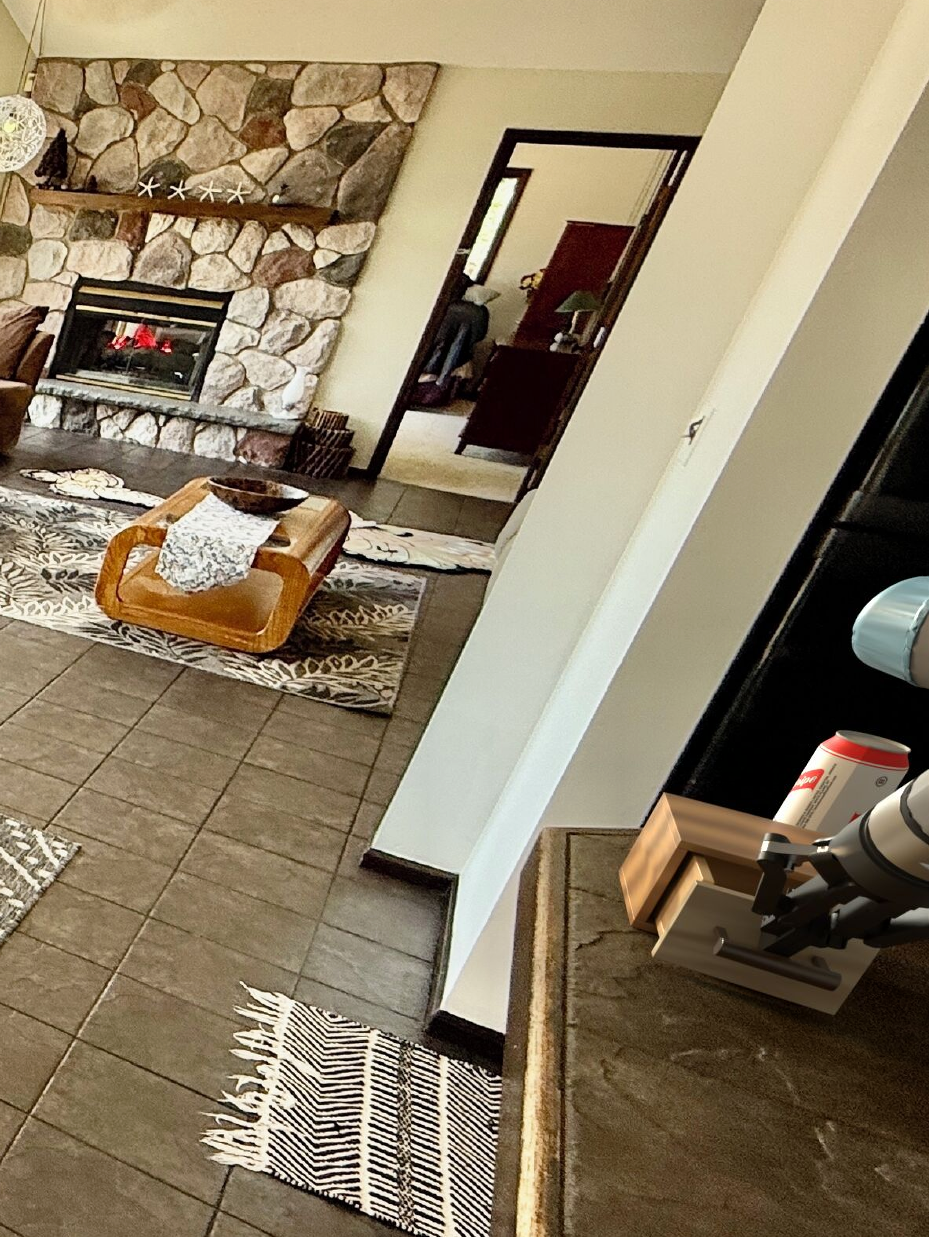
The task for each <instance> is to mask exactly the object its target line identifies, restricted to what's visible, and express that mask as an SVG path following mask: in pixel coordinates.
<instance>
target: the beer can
mask: <svg viewBox="0 0 929 1237" xmlns="http://www.w3.org/2000/svg"><path fill="white" fill-rule="evenodd" d="M911 752H912V750H911V748H910V747H908V746H906V745H905V744H902V743H900V742H897V741H894V740H891V739H888V738H884V737H881V736H878V735H877V736H876V735H873V734H869V733H863V732H859V731H853V730H837V731H836V732H835V735H834V736H832V737H831V738H829V739H827V740H825V741H823V742H822V743H820V744H819V745H818V747H817V748H816V750H815V751H814V753H813V755H812V756H811V757H810V760H809V761H808V763H807V765H806V766H805V767H804V769H803V771H802V772H801V774H800V775H799V777H798V779H797V781H796V782H795V784H794V786H793V787H792V789H791V790H790V792H789V793H788V795H787V797H786V798H785V800H784V801H783V803H782V805H781V806H780V808H779V809H778V811H777V813H776V814H775V815H774V817H773V819H772V820H773V821H777V822H781V823H785V824H789V825H793V826H797V827H801V828H804V829H808V830H812V831H816V832H820V833H824V834H828V835H831V836H836V835H837V834H838V833H839V832H840V831H841V830H843V829H844V828H845V827H846V826H847V825H848V824H850V823H851V822H852V821H854V820H855V819H857V818H858V817H859V816H861V815H862V814H864V813H865V812H867V811H868V810H870V809H871V808H872V807H874V806H876V805H877V804H878V803H880V802H881V801H883V800H884V799H885V798H887V797H888V796H890V795H891V794H893V793H894V792H896V790H897V789H898V787H899V784H900V783H901V782H902V781H903V779H904V777H905V775H906V774H907V773H908V771H909V768H910V762H909V758H908V756H909V753H911Z"/></svg>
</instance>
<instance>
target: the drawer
mask: <svg viewBox="0 0 929 1237" xmlns="http://www.w3.org/2000/svg"><path fill="white" fill-rule="evenodd" d="M762 874H763V871H761V870H757V869H754V868H750V867H747V866H743V865H739V864H736V863H732V862H729V861H725V860H721V859H718V858H714V857H711V856H707V855H703V854H700V853H696V852H692V851H689V850H688V852H687V853H686V855H685V857H684V858H683V860H682V862H681V863H680V865H679V867H678V868H677V870H676V872H675V873H674V875H673V877H672V879H671V880H670V882H669V884H668V885H667V887H666V889H665V890H664V892H663V894H662V895H661V897H660V899H659V900H658V902H657V904H656V906H655V907H654V909H653V915H654V919H655V922H656V926H657V930H658V933H659V935H658V937H659V938H658V940H657V942H656V943H655V945H654V947H653V948H652V950H651V956H652V958H653V959H656V960H660V961H663V962H666V963H669V964H672V965H676V966H677V967H678V966H679V967H682V968H684V969H688V970H690V971H694V972H697V973H701V974H702V975H707V976H710V977H713V978H716V979H719V980H722V981H725V982H729V983H732V984H735V985H738V986H741V987H744V988H747V989H751V990H754V991H757V992H759V993H763V994H765V995H768V996H772V997H775V998H779V999H782V1000H785V1001H788V1002H792V1003H794V1004H797V1005H801V1006H804V1007H807V1008H810V1009H813V1010H816V1011H819V1012H822V1013H825V1014H829V1015H832V1016H835V1015H836V1014H837V1012H838V1011H839V1009H840V1008H841V1006H842V1005H843V1004H844V1003H845V1001H846V999H847V998H848V997H849V995H850V994H851V992H852V991H853V989H854V988H855V987H856V985H857V984H858V983H859V981H860V979H861V978H862V976H863V975H864V974H865V972H866V971H867V969H868V968H869V967H870V965H871V963H872V962H873V961H874V959H875V958H876V956H877V955H878V953H879V952H880V951H881V950H882V949H881V948H872V947H870V946H867V945H865V944H864V943H863V940H861V939H856V938H852V939H850V940H848V943H847V946H846V949H844V950H838V949H833V948H829V947H827V948H817V947H814V946H809V947H807V948H805V949H803V950H802V951H800V952H798V953H796V954H795V955H793V956H791V957H789V958H787V957H784V956H780V955H777V954H774V953H770V952H767V951H764V950H761V949H757V946H758V942H759V939H760V936H761V932H762V931H760V927H761V924H762V920H763V917H764V916H763V915H758V914H755V913H753V912H752V911H751V908H752V905H753V902H754V899H755V895H756V892H757V889H758V885H759V883H760V880H761V877H762ZM803 884H805V883H804V882H801V881H797V880H793V879H790V878H787V881H786V883H785V886H784V888H783V891H782V894H784V895H786V894H787V890H788V888H789V887H790V889H797V888H798V887H800V886H801V885H803ZM838 905H840V904H838ZM838 905H836V906H834V907H833V908H831V909H829V910H830V913H829V915H831V914H832V911H833V909H834V908H835V907H837V906H838Z"/></svg>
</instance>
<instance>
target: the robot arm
mask: <svg viewBox="0 0 929 1237" xmlns="http://www.w3.org/2000/svg"><path fill="white" fill-rule="evenodd" d="M851 646H852V650H853V652H854V653H855V656H856V657H857V658H858V659H859V660H860V661H862V663H864V664H865V665H867V666H869V667H871V668H873V669H875V670H878V671H881V672H883V673H885V674H887V675H891V676H893V677H896V678H899V679H901V680H903V681H906V682H907V683H909V684H911V685H913V686H915V687H918V688H923V689H928V690H929V575H927V576H923V575H922V576H916V577H912V578H908V579H904V580H901V581H899V582H897V583H895V584H893V585H891V586H889V587H887V588H886V589H884V590H883V591H881V592H879V593H878V594H877V595H876V596H874V597H873V598H872V599H871V600H870V601H869V602H868V603H867V604H866V605H865V606H864V607H863V609H862V610H861V611H860V613H859V614H858V615H857V618H856V619H855V622H854V624H853V626H852V637H851ZM804 862H810V863H811V865H812V866H813V867H814V868H815V870H816V871H817V872H818V874H819V875H817V876H815V877H814V878H812V879H811V880H809V881H808V882H806V883H805V884H803V885H801V886H800V887H798V888H797V889H790V887H789V888H788V890H787V894H786V895H784V894H782V891H783V888H784V886H785V883H786V881H787V877H788V874H789V873H793V872H794V870H795V867H800V866H802V864H803V863H804ZM757 863H758V865H759V866H760V868H761V869H762V871H763V874H762V877H761V880H760V883H759V885H758V889H757V892H756V895H755V899H754V902H753V905H752V908H751V911H752V912H753V913H755V914H758V915H763V916H764V917H763V920H762V924H761V927H760V931H762V932H761V936H760V939H759V942H758V946H757V949H761V950H764V951H767V952H770V953H774V954H777V955H780V956H784V957H787V958H789V957H791V956H793V955H795V954H796V953H798V952H800V951H802V950H803V949H805V948H807V947H809V946H814V947H817V948H827V947H829V948H833V949H838V950H844V949H846V946H847V943H848V940H850V939H852V938H856V939H861V940H863V943H864V944H865V945H867V946H870V947H872V948H881V949H880V950H882V949H888V948H892V947H898V946H902V945H906V944H912V943H916V942H921V941H924V940H929V769H927V770H925V771H924V772H923V773H921V774H920V775H919V776H917V777H915V778H914V779H912V780H911V781H909V782H907V783H906V784H903V786H902V787H900V788H898V789H896V790H895V791H894V792H893V794H891V795H890V796H888V797H887V798H885V799H884V800H883V801H881V802H880V803H878V804H877V805H876V806H874V807H872V808H871V809H870V810H868V811H867V812H865V813H864V814H862V815H861V816H859V817H858V818H857V819H855V820H854V821H852V822H851V823H850V824H848V825H847V826H846V827H845V828H844V829H843V830H841V831H840V832H839V833H838V834H837V835H836V836H832V837H824V838H820V839H817V840H815V841H814V842H813V843H812V845H804V844H797V843H791V842H790V841H789V839H788V838H787V837H786V836H784V835H782V834H778V833H766V834H765V835H764V838H763V841H762V845H761V848H760V851H759V854H758V858H757ZM838 904H840V905H838ZM836 905H838V906H837V907H835V908H834V909H833V911H832V914H831V915H829V913H830V910H829V909H831V908H833V907H834V906H836Z"/></svg>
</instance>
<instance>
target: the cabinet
mask: <svg viewBox="0 0 929 1237" xmlns="http://www.w3.org/2000/svg"><path fill="white" fill-rule="evenodd" d="M766 833H778V834H782V835H784V836H786V837H787V838H788V839H789V841H790V842H791V843H797V844H804V845H812V843H813V842H814V841H815V840H817V839H820V838H824V837H832V836H831V835H828V834H824V833H820V832H816V831H812V830H808V829H804V828H801V827H797V826H793V825H789V824H785V823H781V822H777V821H773V819H769V818H765V817H761V816H758V815H754V814H750V813H747V812H742V811H738V810H736V809H731V808H728V807H722V806H719V805H716V804H712V803H707V802H703V801H700V800H697V799H692V798H688V797H684V796H681V795H677V794H673V793H668V792H662V795H661V797H660V799H659V800H658V802H657V804H656V806H654V809H653V810H652V813H651V814H650V816H649V818H648V819H647V821H646V823H645V825H644V827H643V828H642V830H641V831H640V834H639V835H638V836H637V838H636V840H635V842H634V844H633V846H632V847H631V849H630V851H629V853H628V854H627V856H626V858H625V860H624V861H623V863H622V864H621V865H622V866H621V867H620V868H619V871H618V872H619V873H618V876H619V881H620V885H621V890H622V893H623V899H624V904H625V908H626V912H627V917H628V921H629V925H630V927H632V928H635V929H638V930H642V931H645V932H648V933H651V934H654V935H658V936H659V933H658V930H657V926H656V922H655V919H654V915H653V909H654V907H655V906H656V904H657V902H658V900H659V899H660V897H661V895H662V894H663V892H664V890H665V889H666V887H667V885H668V884H669V882H670V880H671V879H672V877H673V875H674V873H675V872H676V870H677V868H678V867H679V865H680V863H681V862H682V860H683V858H684V857H685V855H686V853H687V852H688V850H689V851H692V852H696V853H700V854H703V855H707V856H711V857H714V858H718V859H721V860H725V861H729V862H732V863H736V864H739V865H743V866H747V867H750V868H754V869H757V870H761V871H762V869H761V868H760V866H759V865H758V863H757V858H758V854H759V851H760V848H761V845H762V841H763V838H764V835H765V834H766ZM817 875H819V874H818V872H817V871H816V870H815V868H814V867H813V866H812V865H811V863H810V862H804V863H803V864H802V866H800V867H795V870H794V872H793V873H789V874H788V877H787V878H790V879H793V880H797V881H801V882H804V883H806V882H808V881H809V880H811V879H812V878H814V877H815V876H817Z"/></svg>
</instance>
